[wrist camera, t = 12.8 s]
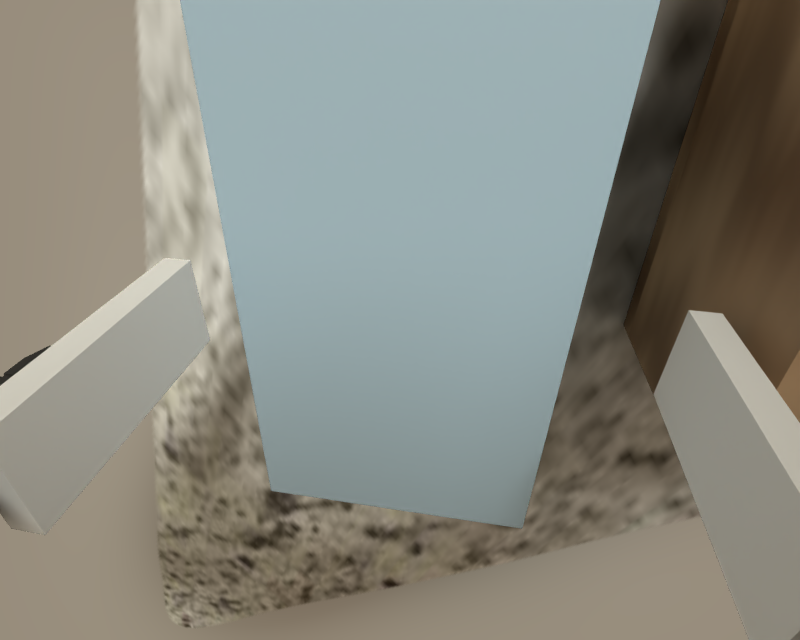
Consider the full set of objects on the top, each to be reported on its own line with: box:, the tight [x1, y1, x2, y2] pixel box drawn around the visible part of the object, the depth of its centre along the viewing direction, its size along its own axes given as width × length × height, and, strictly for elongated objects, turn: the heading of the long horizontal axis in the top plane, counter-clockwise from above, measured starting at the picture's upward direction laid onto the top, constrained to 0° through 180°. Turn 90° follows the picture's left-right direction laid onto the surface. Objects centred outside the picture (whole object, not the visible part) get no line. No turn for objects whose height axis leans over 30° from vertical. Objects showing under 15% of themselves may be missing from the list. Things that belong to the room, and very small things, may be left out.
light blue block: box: [180, 0, 660, 529], centre depth 17 cm, size 17×10×6 cm, turn 179°
